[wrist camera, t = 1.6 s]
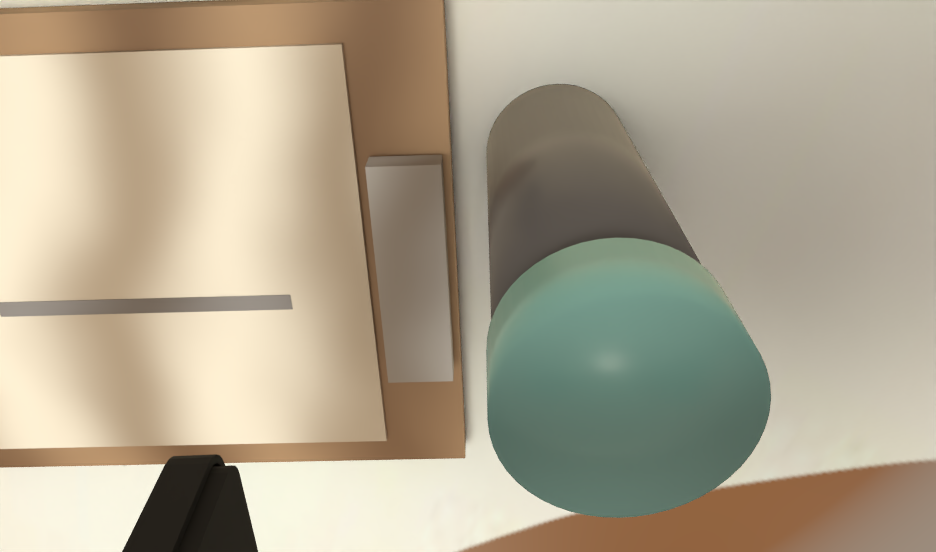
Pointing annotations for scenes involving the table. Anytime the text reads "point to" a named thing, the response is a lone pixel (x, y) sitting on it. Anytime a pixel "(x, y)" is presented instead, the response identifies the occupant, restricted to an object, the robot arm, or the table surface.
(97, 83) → the clipboard
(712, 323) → the marker
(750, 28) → the table surface
